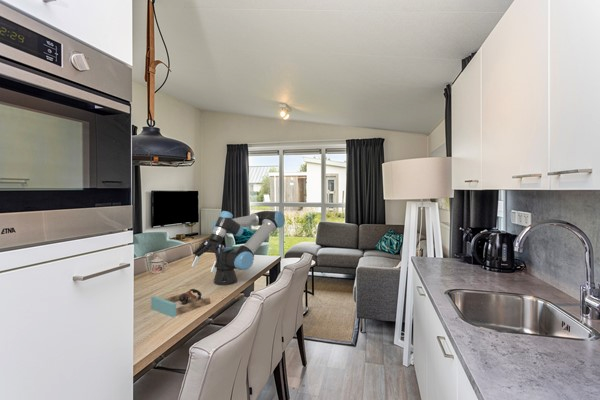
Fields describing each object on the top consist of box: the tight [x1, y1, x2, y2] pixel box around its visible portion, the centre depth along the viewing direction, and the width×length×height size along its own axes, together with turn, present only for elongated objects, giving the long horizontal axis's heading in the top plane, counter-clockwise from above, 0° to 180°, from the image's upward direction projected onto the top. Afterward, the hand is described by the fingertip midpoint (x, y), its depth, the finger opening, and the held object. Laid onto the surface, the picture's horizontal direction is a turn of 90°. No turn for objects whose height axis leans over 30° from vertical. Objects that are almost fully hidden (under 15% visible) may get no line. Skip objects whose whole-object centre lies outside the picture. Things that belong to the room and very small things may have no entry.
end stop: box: [150, 295, 177, 318], centre depth 151 cm, size 2×19×6 cm, turn 55°
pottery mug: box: [178, 288, 202, 305], centre depth 163 cm, size 12×10×8 cm
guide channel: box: [164, 292, 211, 317], centre depth 160 cm, size 20×19×3 cm
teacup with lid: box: [150, 256, 169, 275], centre depth 229 cm, size 12×9×12 cm
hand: (202, 269), depth 172 cm, fingers open, 13 cm apart
